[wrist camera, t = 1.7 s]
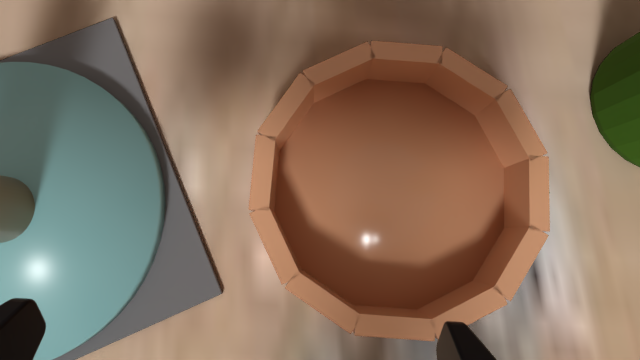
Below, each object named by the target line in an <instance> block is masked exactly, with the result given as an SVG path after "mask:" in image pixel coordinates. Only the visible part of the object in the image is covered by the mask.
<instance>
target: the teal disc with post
mask: <svg viewBox="0 0 640 360" xmlns="http://www.w3.org/2000/svg"><path fill="white" fill-rule="evenodd" d="M165 204H166V201H165V186H164V179H163V175H162V170H161V165H160V162H159V159H158V157H157V154H156V151H155V148H154V146H153V144H152V142H151V140H150V138H149V136H148V135H147V133H146V131H145V130H144V128H143V127H142V125H141V124H140V123H139V121H138V120H137V118H136V117H135V116H134V115H133V114H132V113H131V112H130V111H129V110H128V109H127V108H126V106H125V105H124V104H123V103H121V102H120V101H119V100H117V99H116V98H115V97H114V96H112V95H111V94H110V93H109V92H107V91H106V90H104V89H103V88H102V87H100V86H99V85H97V84H95V83H93V82H92V81H90V80H88V79H87V78H85V77H83V76H80V75H78V74H76V73H73V72H71V71H69V70H66V69H62V68H59V67H55V66H51V65H47V64H39V63H32V62H3V63H0V305H1V304H3V303H5V302H6V301H8V300H10V299H13V298H27V299H33V300H34V301H35V302H36V303H37V305H38V307H39V309H40V311H41V314H42V316H43V318H44V320H45V322H46V330H45V334H44V336H43V339H42V341H41V343H40V345H39V347H38V350H37V352H36V354H35V356H34V359H33V360H52V359H55V358H57V357H59V356H61V355H64V354H66V353H68V352H70V351H71V350H73V349H75V348H77V347H78V346H80V345H82V344H84V343H85V342H87V341H88V340H90V339H91V338H93V337H94V336H95V335H97V334H98V333H99V332H101V331H102V330H103V329H105V328H106V327H107V326H108V325H109V324H110V323H111V322H112V321H113V320H114V319H115V318H116V317H117V316H118V315H119V314H120V313H121V312H122V311H123V310H124V308H125V307H126V306H127V305H128V304H129V302H130V301H131V300H132V299H133V298H134V296H135V294H136V293H137V291H138V290H139V288H140V287H141V285H142V284H143V282H144V280H145V279H146V277H147V274H148V272H149V270H150V268H151V266H152V264H153V262H154V259H155V256H156V253H157V250H158V247H159V244H160V241H161V236H162V231H163V226H164V219H165Z"/></svg>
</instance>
